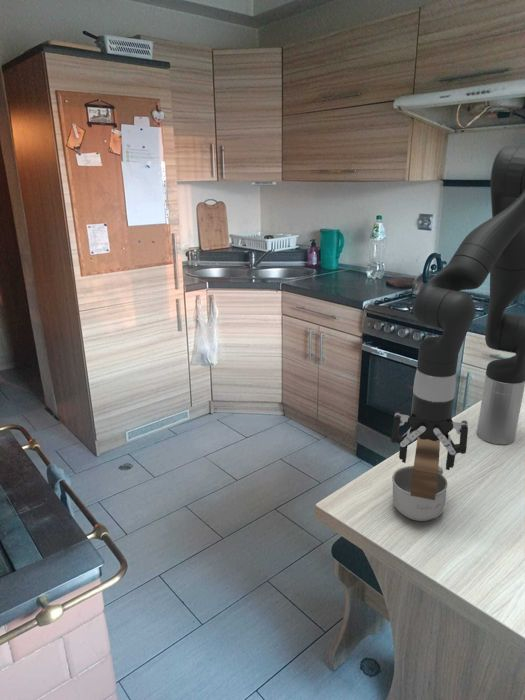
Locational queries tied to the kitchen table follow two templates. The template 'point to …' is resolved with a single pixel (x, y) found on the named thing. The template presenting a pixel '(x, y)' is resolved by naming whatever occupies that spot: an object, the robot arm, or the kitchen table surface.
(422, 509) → the teacup
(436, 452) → the walnut beam
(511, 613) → the kitchen table surface
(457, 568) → the kitchen table surface
